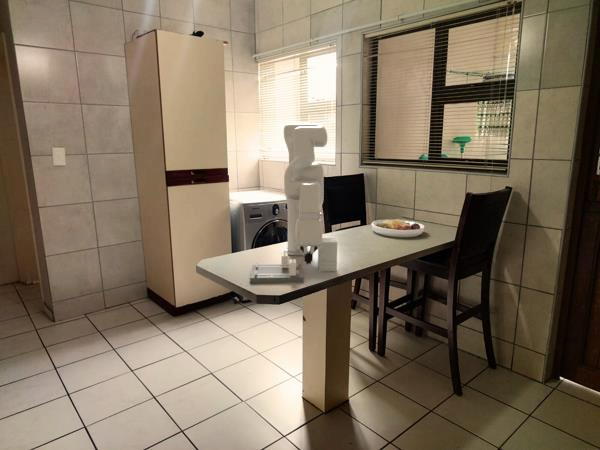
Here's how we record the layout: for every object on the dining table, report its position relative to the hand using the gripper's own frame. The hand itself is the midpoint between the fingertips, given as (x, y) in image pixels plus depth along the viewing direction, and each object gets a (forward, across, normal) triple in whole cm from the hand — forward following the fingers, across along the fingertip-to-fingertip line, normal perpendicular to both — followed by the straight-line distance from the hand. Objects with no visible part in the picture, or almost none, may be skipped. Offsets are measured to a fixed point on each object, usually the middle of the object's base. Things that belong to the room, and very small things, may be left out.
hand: (308, 263), depth 153 cm
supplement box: (+7, -9, -13) cm, 17 cm away
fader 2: (+4, +6, -1) cm, 7 cm away
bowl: (+5, -59, -79) cm, 99 cm away
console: (+7, +12, -5) cm, 15 cm away
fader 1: (+4, +9, -10) cm, 14 cm away
